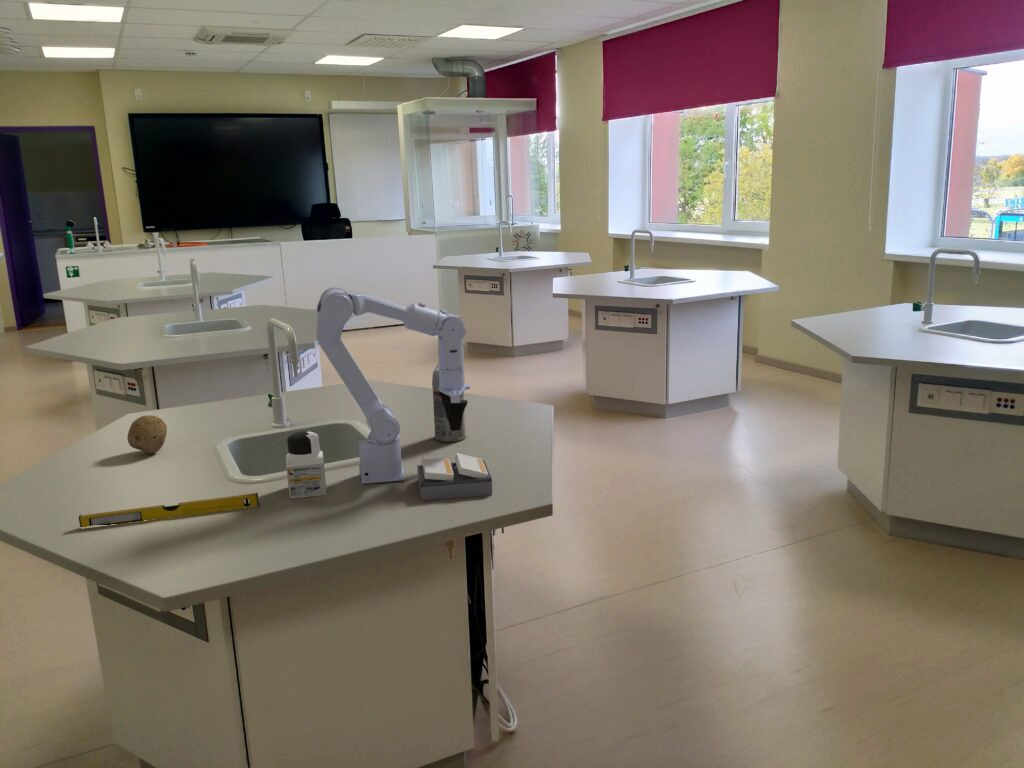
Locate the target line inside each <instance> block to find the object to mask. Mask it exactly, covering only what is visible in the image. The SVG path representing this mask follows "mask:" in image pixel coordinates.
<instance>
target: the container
mask: <svg viewBox="0 0 1024 768" xmlns="http://www.w3.org/2000/svg"><path fill="white" fill-rule="evenodd" d="M286 442H287V451H288V453H287V454H286V457H285V458H286V459H285V460H286V461H285V462H286V466H285V468H286V477H287V486H288V487H287V488H288V497H289V499H290V500H293V499H295V498H296V499H303V498H312V497H311V496H313V497H320V496H326V495H327V493H328V492H327V484H326V483H327V481H326V472H325V471H326V469H325V461H324V452H323V451H322V450H321V448H320V447H321V446H320V437H319V435H318V433H316V432H312V431H306V430H305V431H298V432H295V433H292V434H290V435H289V436H288V437H287V439H286Z"/></svg>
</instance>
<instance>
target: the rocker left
mask: <svg viewBox="0 0 1024 768" xmlns="http://www.w3.org/2000/svg"><path fill="white" fill-rule="evenodd" d="M421 459H422V460H421V465H422V467H423V473H424V478H425V479H435V480H447V481H453V477H454V474H453V470H452V467H451V463H452V462H451V459H449V458H439V457H438V458H437V457H427V456H426V457H424V456H423V457H422V458H421Z"/></svg>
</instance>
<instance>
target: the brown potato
mask: <svg viewBox="0 0 1024 768" xmlns="http://www.w3.org/2000/svg"><path fill="white" fill-rule="evenodd" d="M167 428H168V427H167V424H166V423H165V421H164V420H163V419H162V418H160V417H159V416H156V415H151V414H150V415H149V414H147V415H142V416H140V417H137V418H136V419H135V420H133V422H132V423H131V425H130V427H129V429H128V433H127V437H126V438H127V442H128V444H129V446H130V447H131V448H133V449H136V450H139V451H142V452H144V453H146V454H148V455H153V454H156V453H158V452H159V451H160V450H161V449H162V448H163V446H164V445H165V442H166V439H167V438H166V437H167V433H168V429H167Z"/></svg>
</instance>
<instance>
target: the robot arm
mask: <svg viewBox="0 0 1024 768" xmlns="http://www.w3.org/2000/svg"><path fill="white" fill-rule="evenodd" d="M367 313H370V314H375V315H378V316H381V317H385V318H390V319H393V320H398V321H401V322H402V323H403V325H404V327H405V328H406V329H407V330H411V331H415V332H418V333H420V334H425V335H428V336H431V337H436V336H437V342H438V343H437V346H438V347H437V353H438V354H437V357H438V359H437V360H438V364H439V385H440V386H439V391H438V392H439V394H440V396H441V398H442V404H443V406H444V408H445V412H446V417H447V420H448V421H449V426H450V429H451V431H456V430H460V428H461V423H462V417H463V413H464V414H465V412H464V410H465V409H466V407H467V405H468V400H467V399H464V400H460V398H461V395H462V393H463V392H464V393H465V391H466V390H471V385H470V384H469V383H467V384H465V356H464V353H465V351H464V340H463V339H464V338H465V336H466V332H467V328H466V326H465V324H464V321H463V320H462V319H461V318H459V317H457V316H456V314H452V313H450V312H449V311H446V310H444V309H439V310H437V309H433V308H431V307H427V306H426V303H423V302H421V301H420V302H418V303H414V302H413V303H412V304H410V305H407V306H403V305H401V304H397V303H394V302H392V301H389V300H386V299H383V298H380V297H377V296H373V295H372V294H368V293H365V292H360V291H357V290H356V291H355V290H351V289H346V291H345V290H344V289H343V288H340V287H336V286H335V287H329V288H327V289H324V291H323V292H322V294H321V295H320V298H319V301H318V303H317V306H316V326H315V327H316V330H315V332H316V333H315V338H316V341H317V343H318V345H319V346H320V348H321V349H322V352H323V353H324V354H325V356H326V357H327V359H328V360H329V362H330V363H331V365H332V367H333V368H334V369H335V371H336V372H337V373H336V374H338V376H339V377H340V379H341V381H343V383H344V385H345V387H346V388H347V389H348V391H349V393H350V394H351V396H352V398H353V399H354V400H355V402H356V403H357V405H358V407H359V408H360V410H361V411H362V413H363V415H364V416H365V418H366V424H367V426H368V428H369V430H370V432H369V434H368V436H367V439H364V440H359V441H358V451H359V452H358V455H359V465H358V469H359V470H358V472H359V474H360V483H361V484H362V485H363V484H377V483H387V482H400V481H405V472H404V471H405V470H404V467H403V464H402V449H401V435H400V431H401V426H400V423H399V421H398V420H397V418H396V417H395V415H394V412H393V410H392V409H391V408H390V407H388V406H386V405H385V404H384V403H382V401H381V399H380V398H379V397H378V395H377V394H376V392H375V390H374V388H373V387H372V386H371V385H370V382H369V381H368V379H367V378H366V376H365V375H364V373H363V372H362V370H361V368H360V367H359V365H358V364H357V362H356V361H355V359H354V358H353V356H352V354H351V353H350V351H349V350H348V347H346V345H345V343H344V342H343V340H342V339H341V338H342V334H343V331H344V327H345V325H346V324H347V322H348V321H349V320H350V319H351V317H352V316H353V314H354V316H356V317H359V316H362V315H364V314H367Z"/></svg>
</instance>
